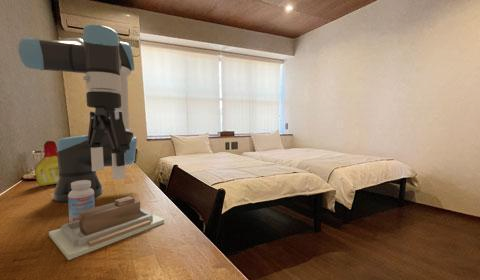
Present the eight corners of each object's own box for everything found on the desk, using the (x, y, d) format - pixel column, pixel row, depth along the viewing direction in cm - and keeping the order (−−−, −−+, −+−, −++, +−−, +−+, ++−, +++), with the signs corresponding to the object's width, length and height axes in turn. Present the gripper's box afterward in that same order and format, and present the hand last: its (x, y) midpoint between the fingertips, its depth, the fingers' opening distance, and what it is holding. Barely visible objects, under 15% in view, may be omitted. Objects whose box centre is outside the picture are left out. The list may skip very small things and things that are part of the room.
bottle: (36, 188, 96) (33, 142, 94) (35, 185, 100) (32, 141, 99) (71, 182, 105) (68, 140, 103) (68, 180, 109) (65, 139, 107)
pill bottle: (72, 227, 59) (70, 186, 58) (66, 220, 63) (64, 182, 62) (98, 220, 64) (96, 182, 63) (91, 214, 68) (89, 178, 67)
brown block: (80, 231, 55) (78, 207, 55) (132, 214, 66) (131, 194, 65) (87, 237, 52) (85, 212, 52) (140, 219, 62) (139, 198, 62)
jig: (49, 235, 55) (48, 225, 55) (136, 209, 72) (136, 201, 72) (68, 260, 45) (67, 248, 45) (164, 222, 62) (164, 214, 62)
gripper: (70, 93, 61) (75, 169, 63) (108, 86, 45) (112, 187, 47) (101, 96, 67) (104, 165, 69) (143, 90, 51) (146, 179, 53)
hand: (107, 174), depth 58 cm, fingers open, 13 cm apart
